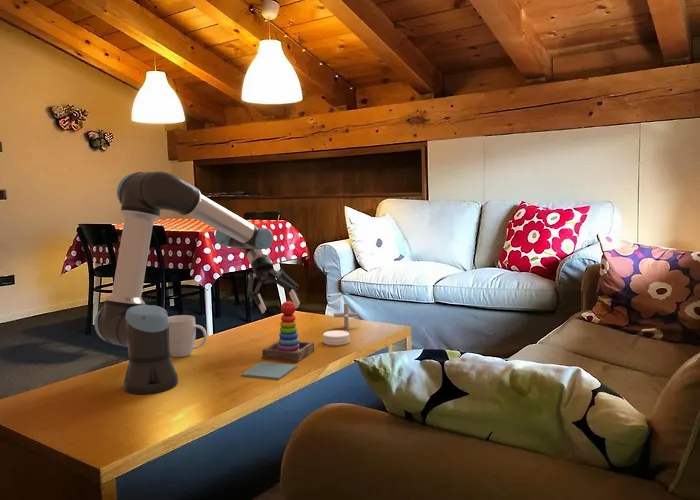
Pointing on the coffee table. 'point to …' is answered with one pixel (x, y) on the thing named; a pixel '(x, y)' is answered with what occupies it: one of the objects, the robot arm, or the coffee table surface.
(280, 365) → the mat
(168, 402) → the coffee table surface
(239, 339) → the coffee table surface
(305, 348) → the tray
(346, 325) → the pipe connector
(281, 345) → the stacking toy
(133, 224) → the robot arm
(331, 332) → the white coaster stack
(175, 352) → the mug
